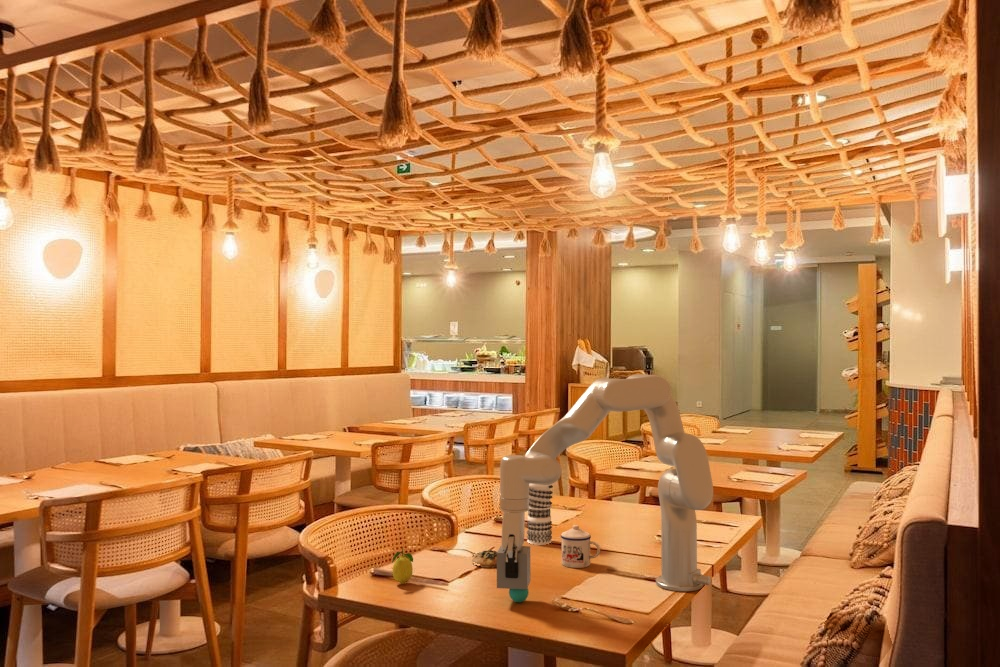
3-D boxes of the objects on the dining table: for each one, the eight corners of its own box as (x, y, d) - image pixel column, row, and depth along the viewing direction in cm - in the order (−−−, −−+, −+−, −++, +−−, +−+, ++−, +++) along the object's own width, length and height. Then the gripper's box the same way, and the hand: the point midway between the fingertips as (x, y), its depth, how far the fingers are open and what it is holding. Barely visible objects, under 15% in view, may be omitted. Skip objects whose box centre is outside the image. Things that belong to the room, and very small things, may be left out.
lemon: (391, 588, 203) (391, 551, 203) (388, 582, 208) (389, 545, 209) (416, 586, 204) (416, 549, 205) (412, 580, 210) (412, 544, 210)
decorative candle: (540, 537, 260) (539, 465, 261) (558, 542, 253) (558, 468, 254) (520, 541, 254) (520, 467, 255) (538, 546, 247) (538, 470, 248)
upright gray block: (530, 580, 195) (530, 546, 195) (527, 589, 187) (527, 553, 188) (501, 579, 196) (501, 545, 196) (496, 588, 189) (496, 552, 189)
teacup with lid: (556, 566, 224) (556, 527, 224) (566, 559, 232) (566, 521, 232) (595, 571, 219) (595, 531, 219) (603, 563, 227) (603, 524, 228)
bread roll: (514, 561, 229) (512, 545, 229) (495, 575, 220) (493, 559, 219) (484, 558, 235) (482, 542, 235) (464, 571, 226) (462, 555, 225)
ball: (519, 607, 192) (534, 596, 192) (511, 604, 188) (527, 593, 188) (510, 590, 195) (525, 579, 195) (502, 587, 191) (518, 576, 191)
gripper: (504, 497, 202) (504, 563, 201) (494, 510, 184) (494, 582, 184) (532, 498, 201) (532, 564, 200) (525, 511, 183) (524, 583, 183)
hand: (514, 572), depth 192 cm, fingers closed on upright gray block, 7 cm apart
